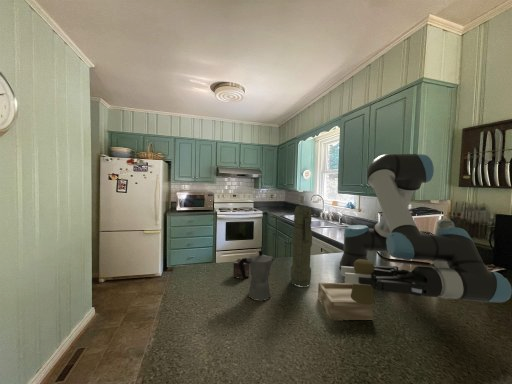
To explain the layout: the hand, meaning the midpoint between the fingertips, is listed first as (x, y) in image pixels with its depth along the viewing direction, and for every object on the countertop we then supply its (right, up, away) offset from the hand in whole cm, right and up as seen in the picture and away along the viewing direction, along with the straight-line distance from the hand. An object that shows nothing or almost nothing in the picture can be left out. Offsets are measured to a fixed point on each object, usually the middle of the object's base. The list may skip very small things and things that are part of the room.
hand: (343, 274), depth 63 cm
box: (-32, -17, +42) cm, 56 cm away
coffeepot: (-25, -18, +24) cm, 39 cm away
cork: (+5, -7, -1) cm, 9 cm away
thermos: (-5, -18, +37) cm, 41 cm away
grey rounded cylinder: (+78, -19, +58) cm, 99 cm away
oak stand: (+7, -19, +17) cm, 26 cm away
